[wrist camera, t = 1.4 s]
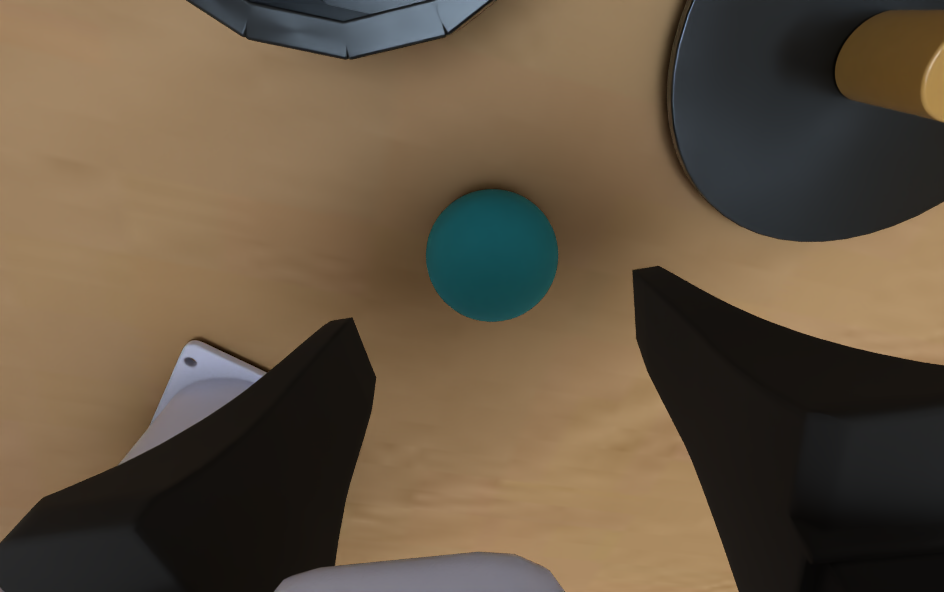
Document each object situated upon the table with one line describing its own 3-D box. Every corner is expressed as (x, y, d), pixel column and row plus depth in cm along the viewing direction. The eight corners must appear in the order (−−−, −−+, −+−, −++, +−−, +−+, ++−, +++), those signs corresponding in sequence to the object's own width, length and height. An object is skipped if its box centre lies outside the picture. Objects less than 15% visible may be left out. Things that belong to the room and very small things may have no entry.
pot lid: (817, 284, 19) (902, 354, 15) (585, 111, 16) (616, 143, 12) (1162, -11, 14) (1421, -20, 10) (915, -340, 11) (1146, -529, 7)
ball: (505, 301, 20) (509, 369, 16) (411, 245, 19) (391, 305, 15) (574, 215, 18) (598, 269, 14) (474, 147, 17) (470, 187, 13)
